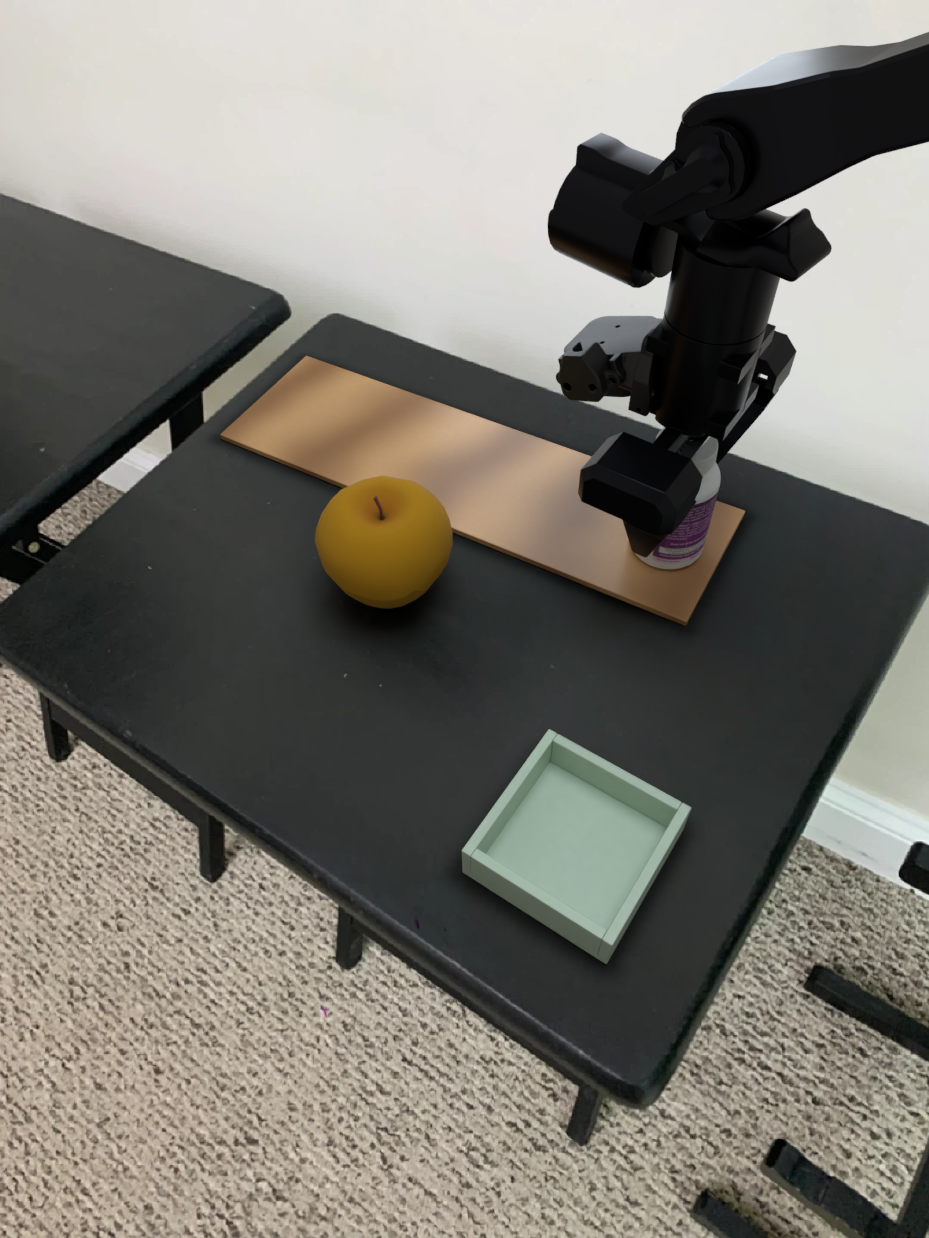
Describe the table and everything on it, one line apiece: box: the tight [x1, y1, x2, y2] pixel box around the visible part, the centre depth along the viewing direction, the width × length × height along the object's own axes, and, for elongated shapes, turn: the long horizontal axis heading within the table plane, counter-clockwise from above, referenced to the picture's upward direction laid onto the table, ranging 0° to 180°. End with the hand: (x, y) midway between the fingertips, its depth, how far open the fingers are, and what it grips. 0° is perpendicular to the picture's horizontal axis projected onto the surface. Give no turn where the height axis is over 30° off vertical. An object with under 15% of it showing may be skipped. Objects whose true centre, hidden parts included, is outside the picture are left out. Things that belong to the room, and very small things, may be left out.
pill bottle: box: [635, 426, 722, 569], centre depth 63 cm, size 5×5×10 cm
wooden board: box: [219, 355, 746, 627], centre depth 72 cm, size 40×12×1 cm, turn 60°
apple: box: [314, 476, 454, 610], centre depth 61 cm, size 9×9×9 cm
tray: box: [461, 728, 692, 965], centre depth 52 cm, size 9×9×3 cm
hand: (670, 512), depth 64 cm, fingers open, 9 cm apart
